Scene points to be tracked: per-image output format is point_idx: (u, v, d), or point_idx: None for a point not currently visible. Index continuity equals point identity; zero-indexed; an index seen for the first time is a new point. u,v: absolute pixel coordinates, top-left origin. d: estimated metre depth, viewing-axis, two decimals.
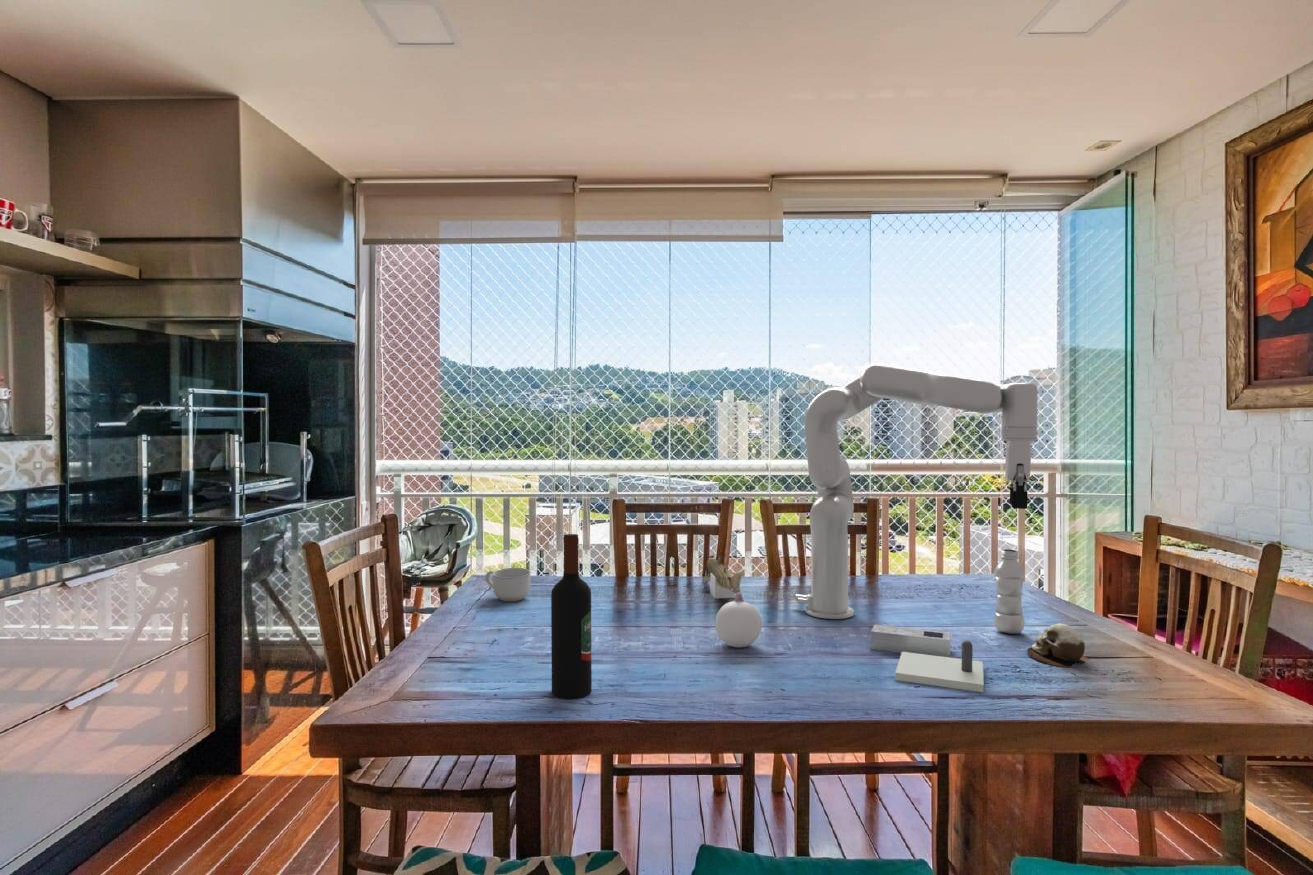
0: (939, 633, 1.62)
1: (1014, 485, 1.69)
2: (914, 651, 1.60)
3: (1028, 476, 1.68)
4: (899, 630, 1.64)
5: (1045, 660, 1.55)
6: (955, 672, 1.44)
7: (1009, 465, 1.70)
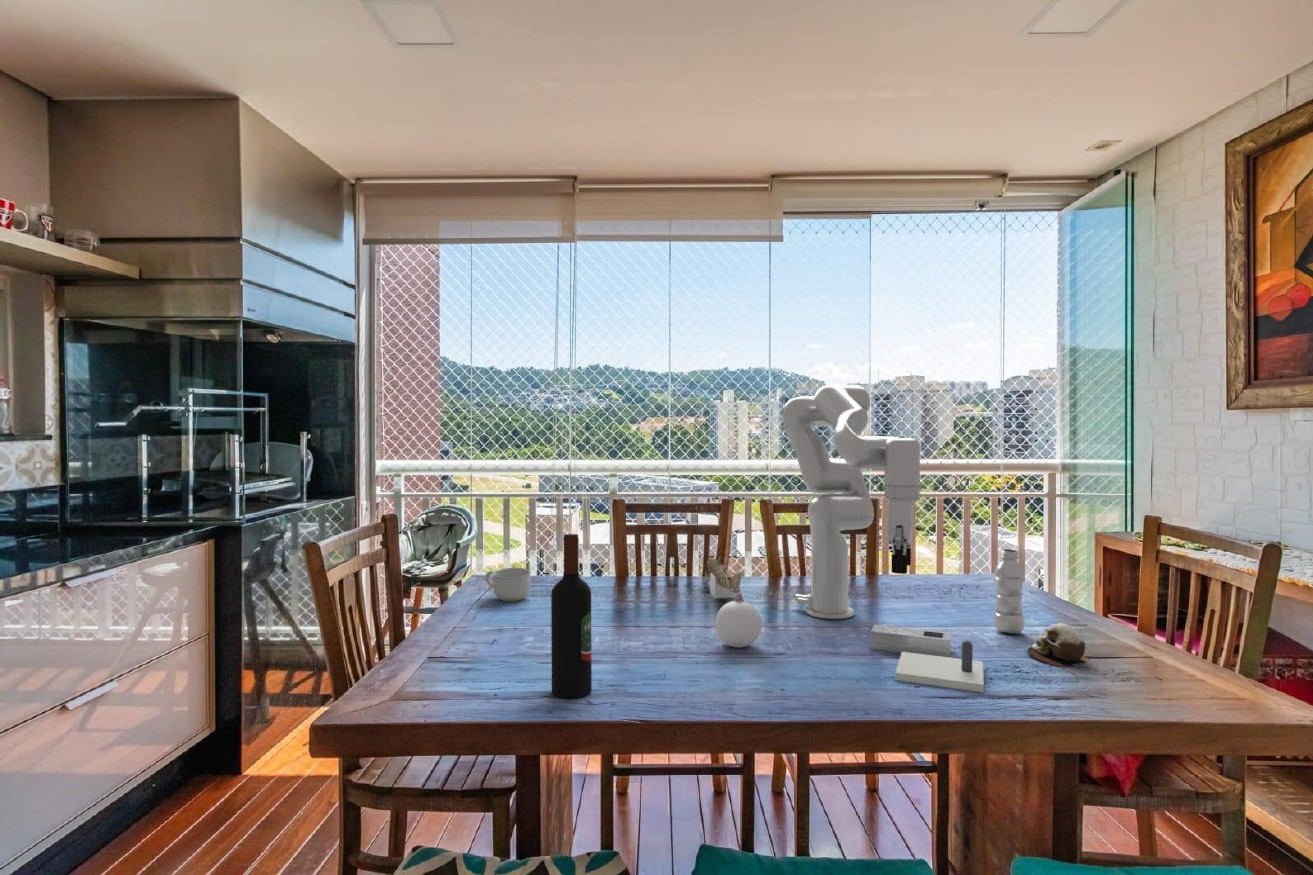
0: (939, 633, 1.62)
1: (893, 548, 1.58)
2: (914, 651, 1.60)
3: (908, 539, 1.58)
4: (899, 630, 1.64)
5: (1045, 660, 1.55)
6: (955, 672, 1.44)
7: (889, 527, 1.59)
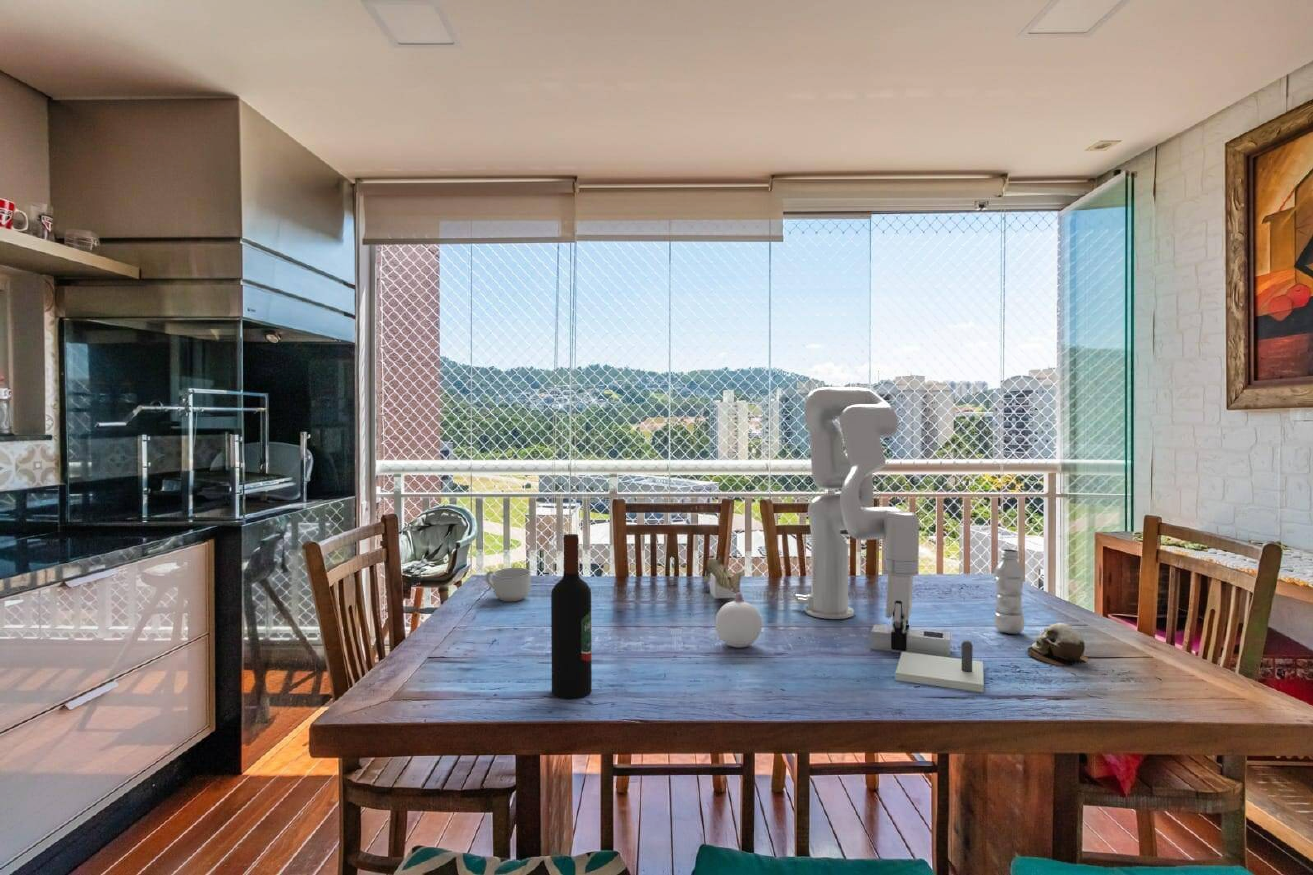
0: (939, 633, 1.62)
1: (893, 626, 1.60)
2: (914, 651, 1.60)
3: (907, 614, 1.58)
4: None
5: (1045, 659, 1.55)
6: (955, 672, 1.44)
7: (887, 601, 1.60)
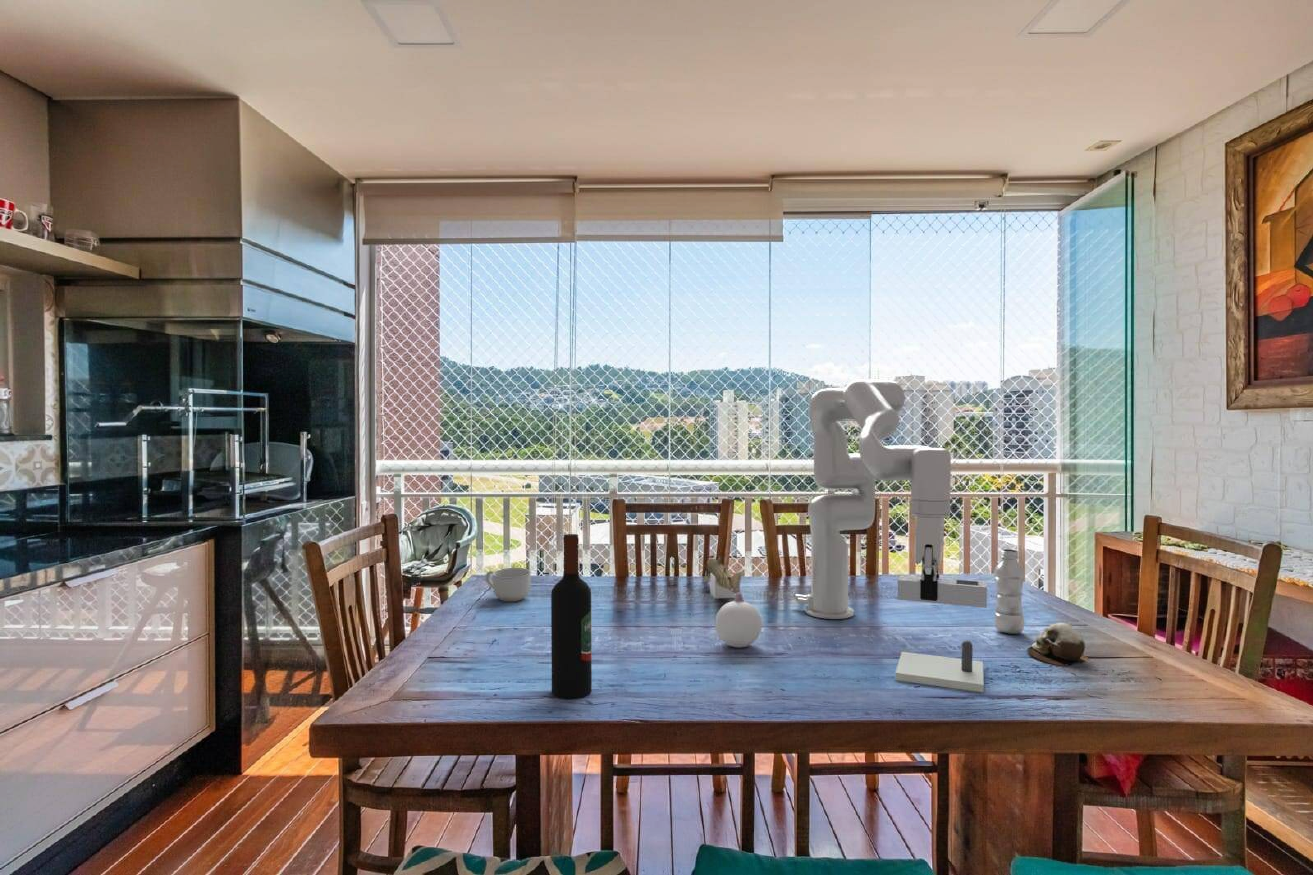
0: (973, 581, 1.47)
1: (922, 573, 1.44)
2: (946, 600, 1.44)
3: (938, 559, 1.43)
4: None
5: (1045, 659, 1.55)
6: (955, 672, 1.44)
7: (916, 546, 1.44)
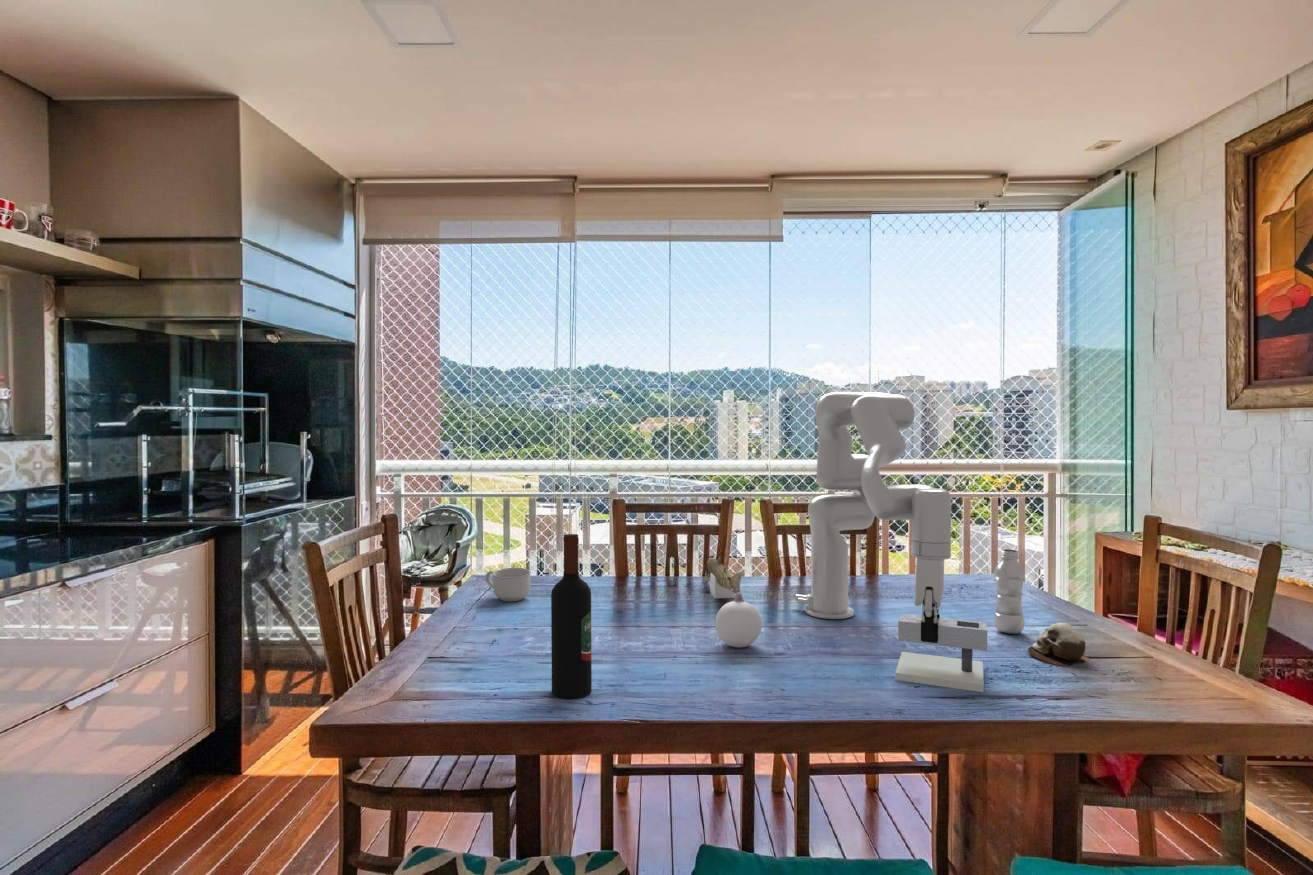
0: (974, 623, 1.46)
1: (923, 615, 1.44)
2: (947, 643, 1.44)
3: (938, 602, 1.43)
4: None
5: (1046, 659, 1.55)
6: (955, 672, 1.44)
7: (917, 588, 1.44)
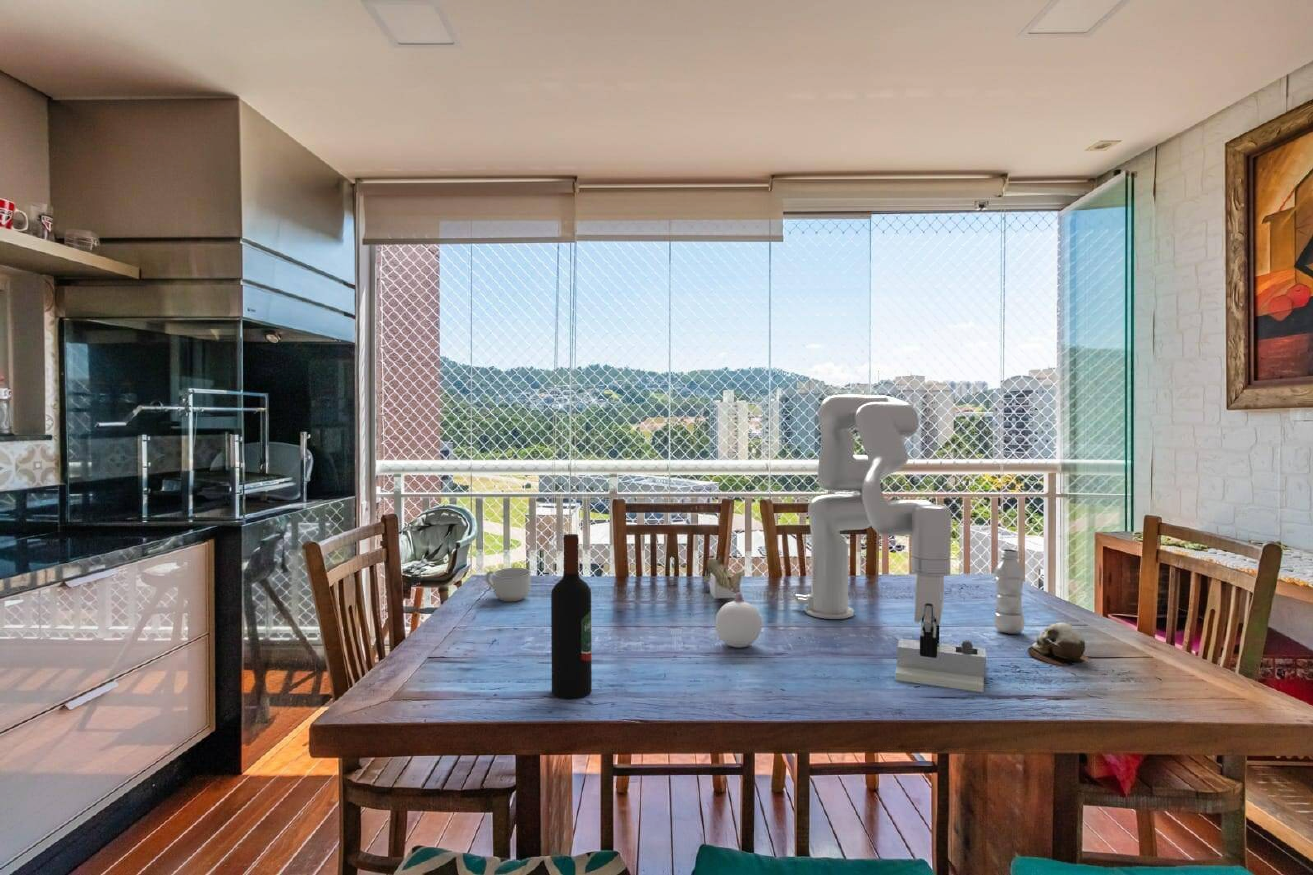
0: (973, 649, 1.47)
1: (922, 629, 1.43)
2: (945, 669, 1.44)
3: (938, 619, 1.43)
4: None
5: (1045, 659, 1.55)
6: None
7: (916, 604, 1.44)
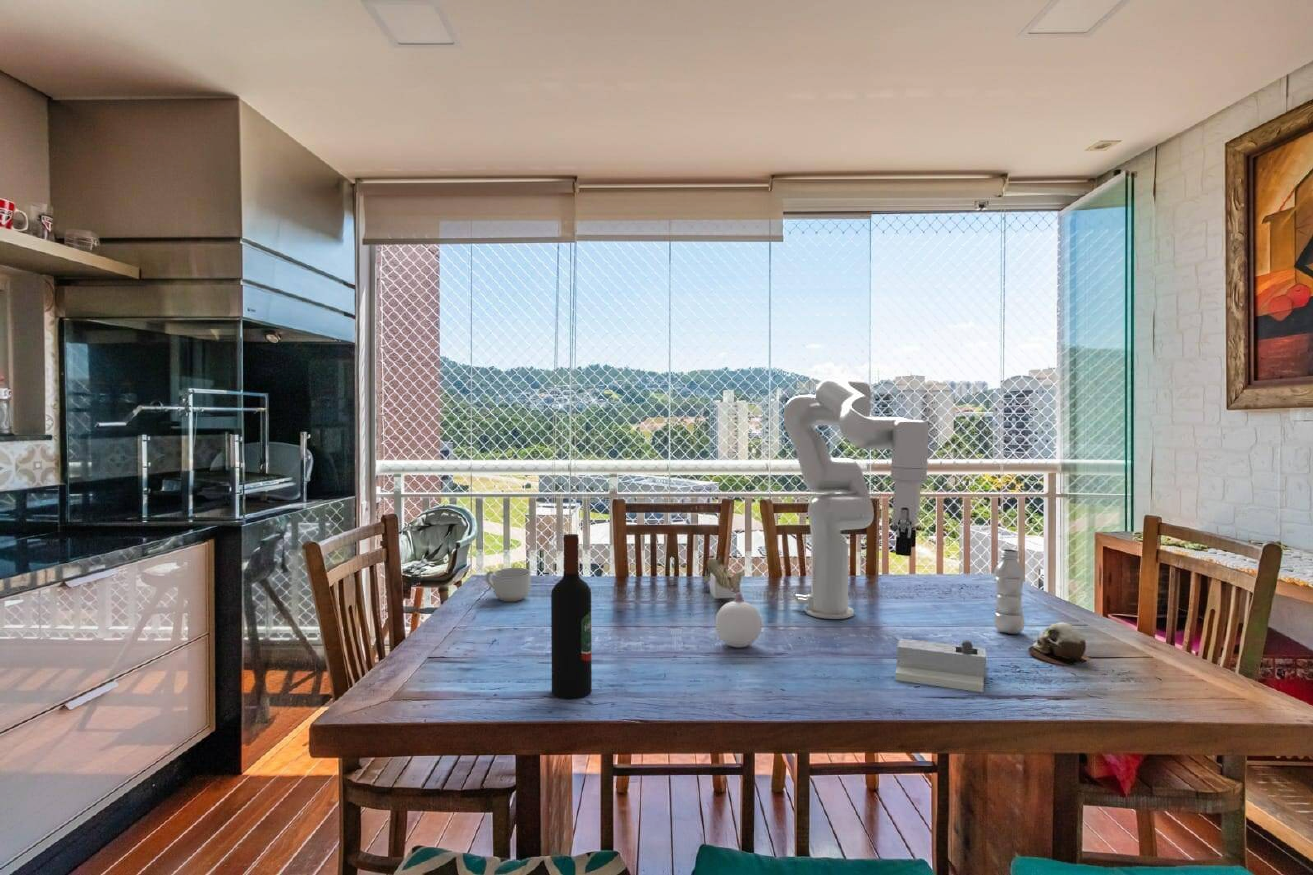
0: (973, 649, 1.47)
1: (898, 530, 1.58)
2: (945, 669, 1.44)
3: (913, 521, 1.57)
4: (928, 645, 1.48)
5: (1046, 659, 1.56)
6: None
7: (894, 509, 1.58)
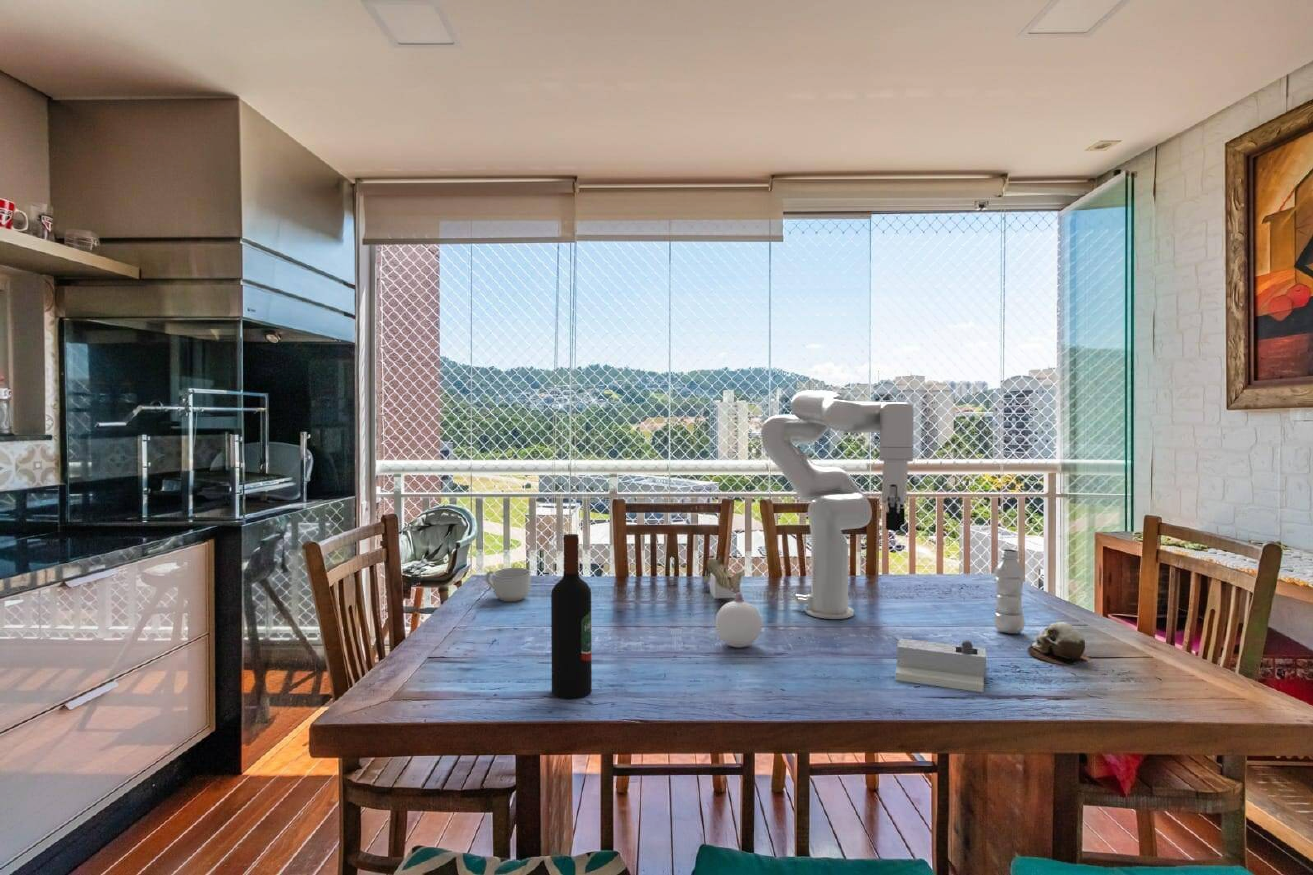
0: (973, 649, 1.47)
1: (887, 506, 1.66)
2: (945, 669, 1.44)
3: (901, 497, 1.66)
4: (928, 645, 1.48)
5: (1046, 658, 1.56)
6: None
7: (883, 486, 1.67)
